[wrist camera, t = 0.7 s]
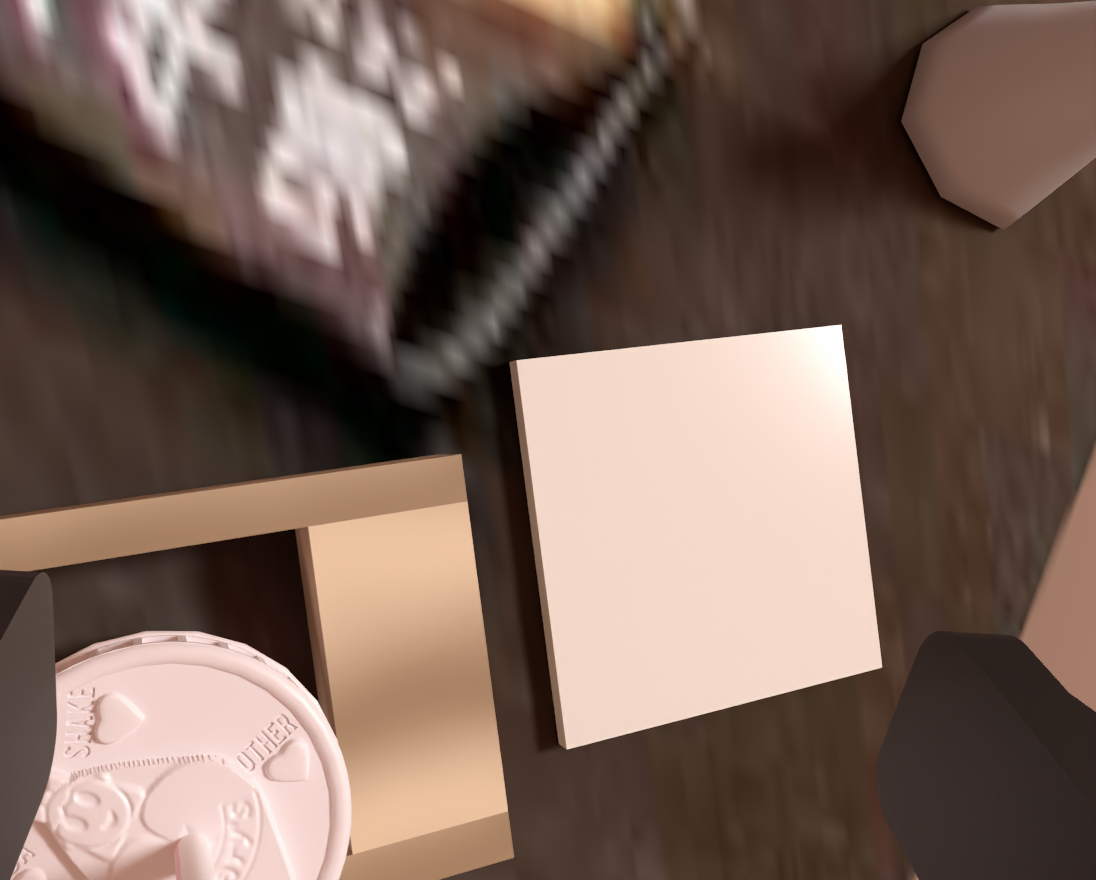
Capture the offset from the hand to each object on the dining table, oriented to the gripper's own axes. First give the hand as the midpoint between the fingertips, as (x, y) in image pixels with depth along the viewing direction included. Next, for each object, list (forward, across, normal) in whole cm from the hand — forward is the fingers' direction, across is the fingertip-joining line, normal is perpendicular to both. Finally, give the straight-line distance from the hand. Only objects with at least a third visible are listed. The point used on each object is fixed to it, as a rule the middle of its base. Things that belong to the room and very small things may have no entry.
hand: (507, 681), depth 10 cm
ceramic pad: (+19, -9, +8) cm, 23 cm away
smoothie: (+14, +6, +12) cm, 19 cm away
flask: (+27, -19, -4) cm, 34 cm away
